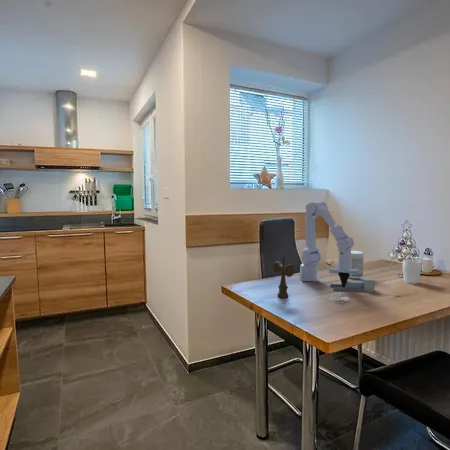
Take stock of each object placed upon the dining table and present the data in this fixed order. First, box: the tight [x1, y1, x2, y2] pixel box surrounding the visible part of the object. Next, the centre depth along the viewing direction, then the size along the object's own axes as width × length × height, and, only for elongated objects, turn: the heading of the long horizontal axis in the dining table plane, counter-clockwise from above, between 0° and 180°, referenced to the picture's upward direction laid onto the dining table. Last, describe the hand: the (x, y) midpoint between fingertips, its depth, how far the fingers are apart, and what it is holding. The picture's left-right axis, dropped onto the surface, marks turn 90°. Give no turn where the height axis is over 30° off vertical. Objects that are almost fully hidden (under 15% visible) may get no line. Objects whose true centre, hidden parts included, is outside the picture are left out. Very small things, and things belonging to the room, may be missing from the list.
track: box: [329, 276, 376, 293], centre depth 161 cm, size 20×7×6 cm, turn 84°
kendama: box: [272, 255, 296, 299], centre depth 148 cm, size 6×10×20 cm, turn 33°
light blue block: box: [345, 279, 364, 288], centre depth 160 cm, size 12×4×4 cm, turn 84°
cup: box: [402, 258, 423, 285], centre depth 172 cm, size 9×9×12 cm
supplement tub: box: [348, 250, 364, 280], centre depth 183 cm, size 10×10×15 cm
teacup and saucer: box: [331, 291, 350, 302], centre depth 144 cm, size 9×8×4 cm
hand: (343, 287), depth 161 cm, fingers closed
